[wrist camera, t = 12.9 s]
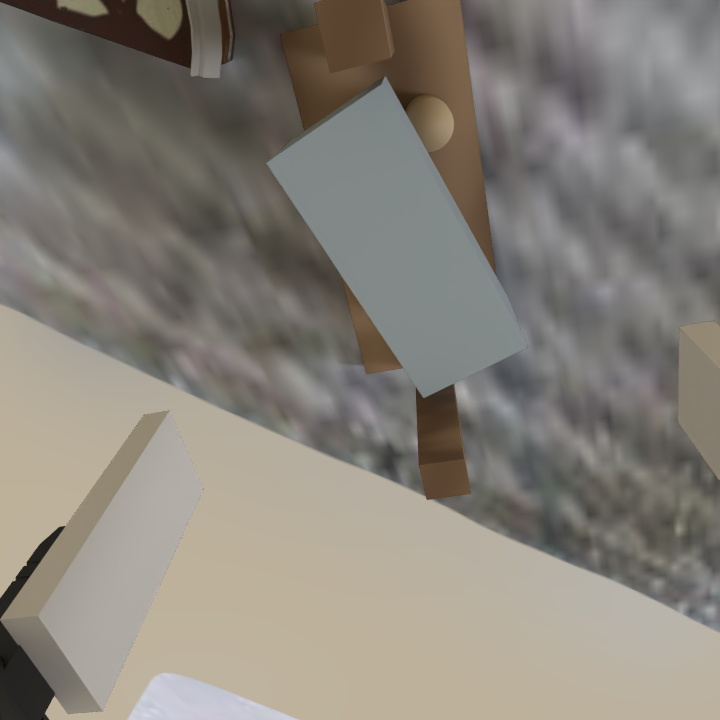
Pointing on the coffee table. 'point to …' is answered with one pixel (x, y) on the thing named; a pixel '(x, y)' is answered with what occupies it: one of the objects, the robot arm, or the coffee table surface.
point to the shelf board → (399, 239)
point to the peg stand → (439, 136)
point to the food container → (152, 27)
